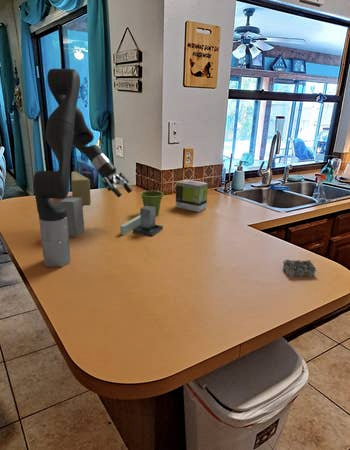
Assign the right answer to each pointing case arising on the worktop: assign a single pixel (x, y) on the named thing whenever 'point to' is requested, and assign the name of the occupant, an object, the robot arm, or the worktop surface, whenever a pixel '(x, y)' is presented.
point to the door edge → (130, 225)
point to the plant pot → (152, 199)
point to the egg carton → (299, 268)
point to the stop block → (147, 218)
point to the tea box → (191, 195)
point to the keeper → (158, 228)
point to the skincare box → (74, 215)
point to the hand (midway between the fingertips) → (125, 194)
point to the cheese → (81, 187)
